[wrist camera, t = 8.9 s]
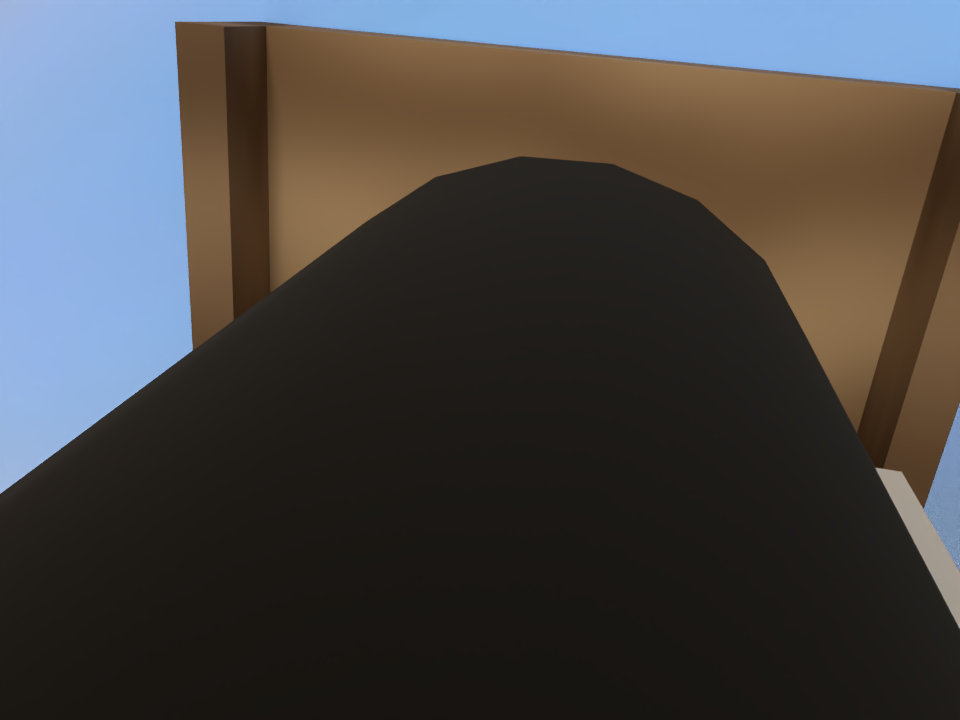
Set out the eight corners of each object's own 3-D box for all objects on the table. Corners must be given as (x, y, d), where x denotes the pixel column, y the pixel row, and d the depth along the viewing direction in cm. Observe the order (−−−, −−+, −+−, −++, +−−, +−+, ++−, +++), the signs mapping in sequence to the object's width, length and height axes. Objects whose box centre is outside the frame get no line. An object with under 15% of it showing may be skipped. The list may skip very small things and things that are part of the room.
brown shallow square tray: (260, 21, 20) (175, 21, 16) (972, 90, 18) (1059, 108, 14) (269, 547, 26) (208, 634, 22) (807, 644, 24) (838, 758, 20)
